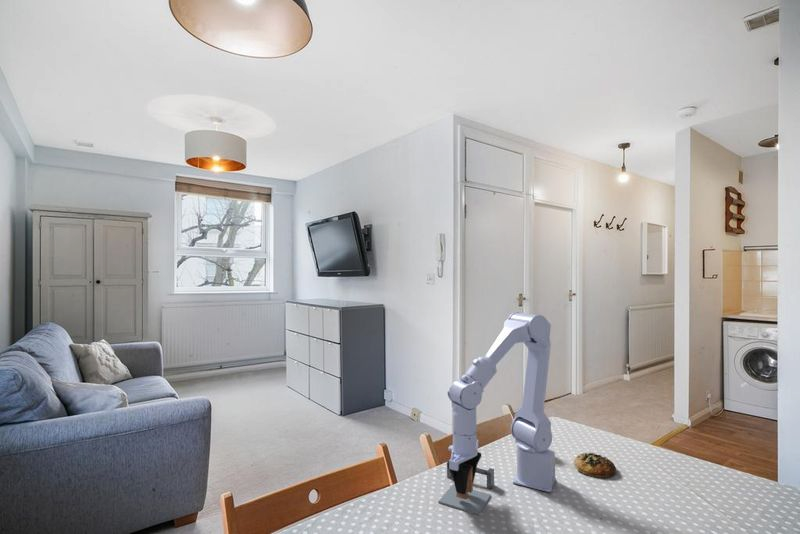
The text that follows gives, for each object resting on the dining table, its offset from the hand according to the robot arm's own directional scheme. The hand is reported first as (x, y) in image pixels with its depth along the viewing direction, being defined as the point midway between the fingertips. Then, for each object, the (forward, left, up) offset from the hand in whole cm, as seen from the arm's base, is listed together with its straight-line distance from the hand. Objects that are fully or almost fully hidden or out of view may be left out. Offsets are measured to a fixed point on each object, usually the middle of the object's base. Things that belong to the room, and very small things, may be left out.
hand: (464, 487), depth 99 cm
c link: (0, 0, -1) cm, 1 cm away
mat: (0, 0, -3) cm, 3 cm away
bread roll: (-26, -32, -3) cm, 42 cm away
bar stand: (+2, -9, -3) cm, 10 cm away
